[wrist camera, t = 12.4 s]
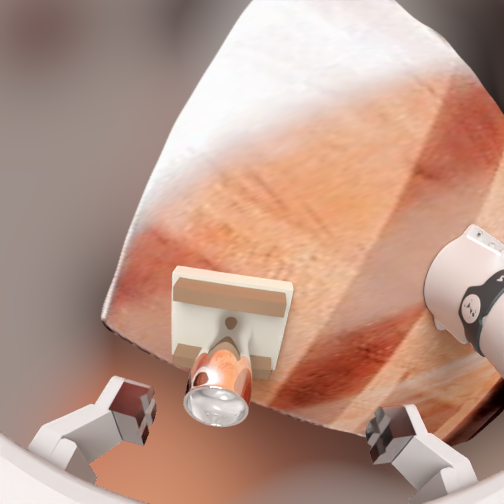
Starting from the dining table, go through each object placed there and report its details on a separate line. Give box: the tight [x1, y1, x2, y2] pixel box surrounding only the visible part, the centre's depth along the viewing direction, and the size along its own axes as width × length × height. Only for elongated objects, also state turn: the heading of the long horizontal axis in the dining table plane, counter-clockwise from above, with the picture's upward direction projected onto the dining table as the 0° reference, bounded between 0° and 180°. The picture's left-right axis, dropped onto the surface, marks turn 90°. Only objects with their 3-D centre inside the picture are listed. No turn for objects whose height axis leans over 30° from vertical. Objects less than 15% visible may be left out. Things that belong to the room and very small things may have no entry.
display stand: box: [172, 266, 294, 380], centre depth 39 cm, size 16×14×6 cm
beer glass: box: [183, 311, 253, 427], centre depth 33 cm, size 7×7×15 cm
